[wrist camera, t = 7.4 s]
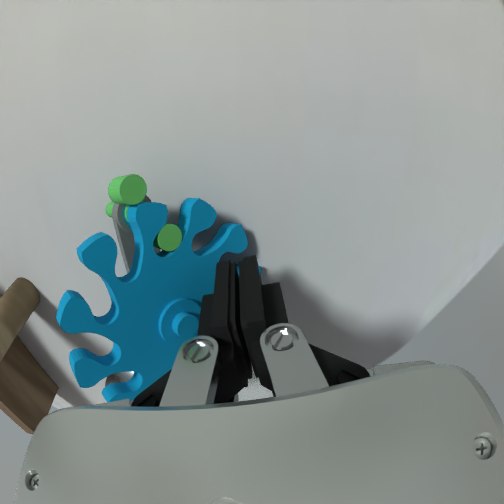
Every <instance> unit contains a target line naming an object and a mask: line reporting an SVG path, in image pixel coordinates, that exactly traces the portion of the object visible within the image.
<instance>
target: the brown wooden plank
mask: <svg viewBox="0 0 504 504" xmlns="http://www.w3.org/2000/svg"><path fill="white" fill-rule="evenodd" d="M57 390H58V387H57V385H56V384H55V383H54V382H53V381H52V380H51V379H50V377H49V376H48V375H47V374H46V373H45V371H44V370H43V369H42V368H41V367H40V365H39V364H38V363H37V362H36V360H35V359H34V358H33V357H32V355H31V354H30V353H29V351H28V350H27V349H26V347H25V346H24V345H23V343H22V342H21V340H20V339H19V338H18V336H16V338H15V339H14V341H13V342H12V344H11V345H10V347H9V349H8V350H7V352H6V354H5V355H4V357H3V359H2V360H1V362H0V409H1V410H2V411H3V412H4V413H5V414H7V415H8V416H9V417H10V418H11V419H12V420H13V421H14V422H15V423H16V424H18V425H19V426H20V427H21V428H22V429H23V430H25V431H26V432H27V433H30V434H34V431H35V429H36V427H37V426H38V424H39V422H40V421H41V420H42V419H43V418H44V417H45V416H46V415H48V413H49V410H50V408H51V405H52V403H53V400H54V398H55V395H56V393H57Z"/></svg>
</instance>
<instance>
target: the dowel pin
mask: <svg viewBox="0 0 504 504" xmlns="http://www.w3.org/2000/svg"><path fill="white" fill-rule="evenodd" d="M39 302H40V297H39V294H38V291H37V290H36V288H35V287H34V285H33V284H32V283H31V282H30V281H28V280H27V279H25V278H18V279H16V280H15V282H14V283H13V284H12V285H11V286H10V287H9V288H8V290H7V291H6V292H5V293H4V294H3V296H2V297H1V298H0V362H1V360H2V359H3V357H4V355H5V354H6V352H7V350H8V349H9V347H10V345H11V344H12V342H13V341H14V339H15V338H16V336H17V334H18V333H19V331H20V330H21V328H22V327H23V325H24V324H25V322H26V321H27V319H28V318H29V317H30V315H31V314H32V312H33V311H34V309H35V308H36V307H37V305H38V304H39Z"/></svg>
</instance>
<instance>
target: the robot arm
mask: <svg viewBox="0 0 504 504" xmlns="http://www.w3.org/2000/svg"><path fill="white" fill-rule="evenodd" d="M251 362H252V365H251ZM252 366H253V369H254V372H255V376H256V378H258V377H259V380H260V383H261V385H262V386H264V387H266V388H267V389H269V390H271V391H272V394H273V397H270V398H263V399H256V400H248V401H240V402H238V400H239V399H238V392H239V391H240V390H241V389H243V388H244V387H248V379H251V378H252ZM14 504H504V423H503V421H502V419H501V417H500V415H499V413H498V412H497V410H496V408H495V406H494V404H493V403H492V401H491V399H490V398H489V396H488V395H487V393H486V392H485V390H484V389H483V387H482V386H481V385H480V383H479V382H478V381H477V380H476V379H475V378H474V376H473V375H471V374H470V373H469V372H468V371H466V370H465V369H463V368H460V367H457V366H453V365H445V364H434V363H433V362H430V361H416V362H407V363H399V364H389V365H378V366H374V368H373V369H365V368H364V367H362V366H360V365H358V364H356V363H354V362H351V361H349V360H346V359H344V358H341V357H339V356H337V355H334V354H332V353H329V352H327V351H325V350H322V349H320V348H318V347H315V346H313V345H311V344H308V342H307V340H306V338H305V336H304V334H303V332H302V331H301V330H300V328H298V327H297V326H295V325H293V324H289V323H288V319H287V314H286V310H285V305H284V301H283V296H282V292H281V287H280V283H279V282H278V283H272V284H266V285H262V283H261V278H260V273H259V267H258V262H257V257H256V255H255V256H250V257H244V258H243V261H241V262H239V275H238V271H237V267H236V264H235V263H231V262H230V260H228V261H222V262H217V264H216V273H215V283H214V293H213V294H207V295H203V298H202V304H201V311H200V319H199V326H198V334H197V336H196V337H193V338H190V339H189V340H187V341H185V342H184V343H183V344H182V345H181V347H180V349H179V351H178V354H177V357H176V359H175V362H174V365H173V368H172V369H171V370H170V371H168V372H167V373H166V374H164V375H163V376H162V377H161V378H159V379H158V380H157V381H155V382H154V383H153V384H151V385H150V386H149V387H148V388H146V389H145V390H144V391H142V392H141V393H140V394H138V395H137V396H136V397H135V398H134V400H133V401H131V400H130V399H124V400H119V401H113V402H108V403H102V404H96V405H90V406H75V407H68V408H63V409H60V410H56V411H54V412H52V413H50V414H48V415H46V416H45V417H44V418H43V419H42V420H41V421H40V422H39V424H38V426H37V427H36V429H35V431H34V434H33V436H32V438H31V441H30V444H29V446H28V449H27V452H26V455H25V458H24V462H23V465H22V468H21V473H20V477H19V481H18V486H17V490H16V495H15V501H14Z"/></svg>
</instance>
